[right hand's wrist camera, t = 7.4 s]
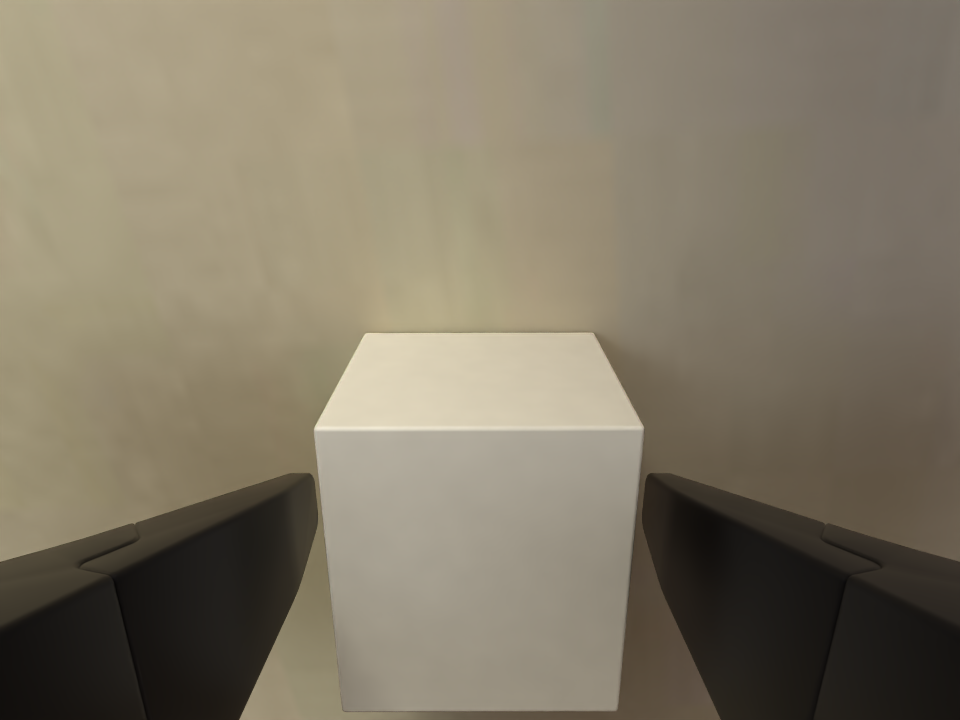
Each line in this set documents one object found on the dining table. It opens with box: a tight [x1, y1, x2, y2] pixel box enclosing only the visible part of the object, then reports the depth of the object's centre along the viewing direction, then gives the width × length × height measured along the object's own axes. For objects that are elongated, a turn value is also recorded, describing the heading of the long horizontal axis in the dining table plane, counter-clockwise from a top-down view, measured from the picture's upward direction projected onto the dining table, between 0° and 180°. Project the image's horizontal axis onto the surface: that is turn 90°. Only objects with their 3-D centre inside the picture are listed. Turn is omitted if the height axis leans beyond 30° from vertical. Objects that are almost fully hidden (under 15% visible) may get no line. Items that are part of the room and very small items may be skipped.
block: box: [314, 333, 645, 712], centre depth 11 cm, size 4×5×4 cm
